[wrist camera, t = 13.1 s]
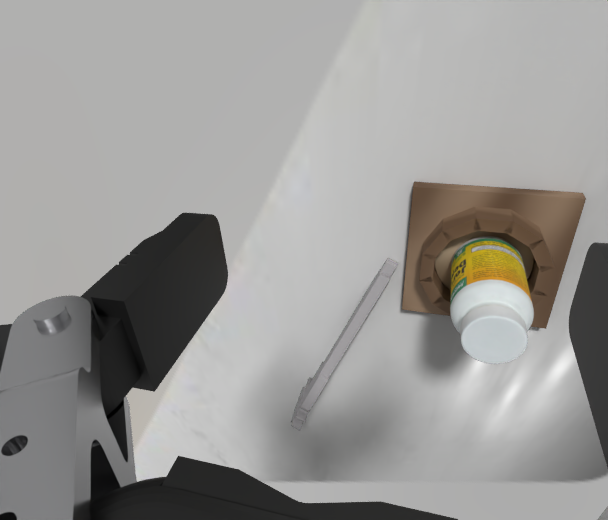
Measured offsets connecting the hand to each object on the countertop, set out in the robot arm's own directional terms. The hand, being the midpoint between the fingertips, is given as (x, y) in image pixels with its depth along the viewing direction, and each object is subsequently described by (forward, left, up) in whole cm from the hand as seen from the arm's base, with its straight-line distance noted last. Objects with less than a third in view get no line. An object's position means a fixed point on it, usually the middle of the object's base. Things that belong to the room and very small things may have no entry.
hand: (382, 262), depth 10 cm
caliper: (+6, +26, -27) cm, 38 cm away
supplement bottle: (-6, +15, -25) cm, 30 cm away
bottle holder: (-6, +15, -27) cm, 31 cm away
